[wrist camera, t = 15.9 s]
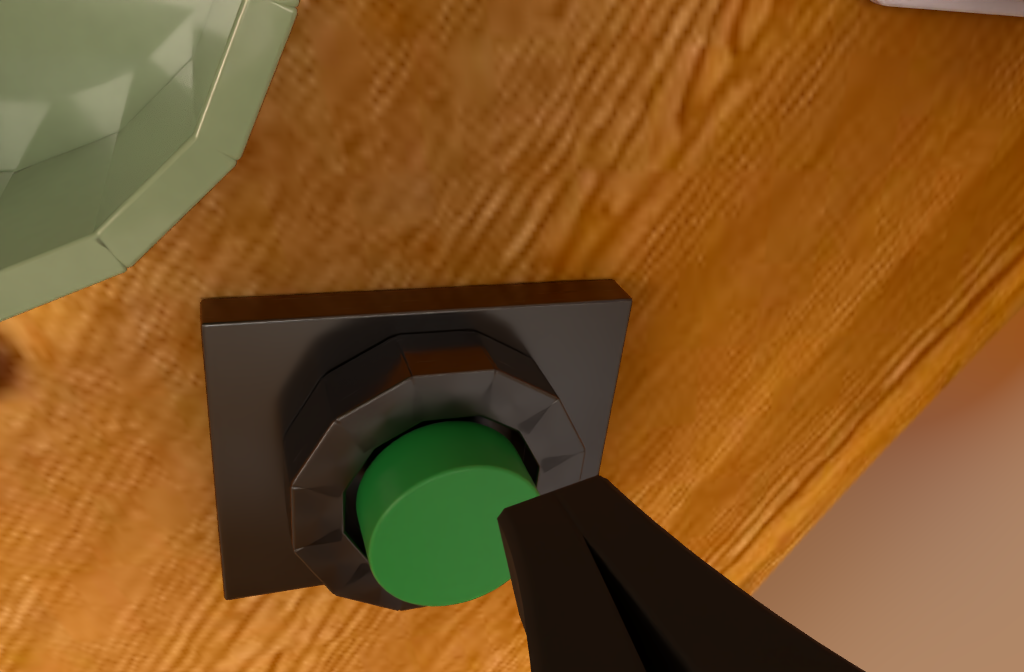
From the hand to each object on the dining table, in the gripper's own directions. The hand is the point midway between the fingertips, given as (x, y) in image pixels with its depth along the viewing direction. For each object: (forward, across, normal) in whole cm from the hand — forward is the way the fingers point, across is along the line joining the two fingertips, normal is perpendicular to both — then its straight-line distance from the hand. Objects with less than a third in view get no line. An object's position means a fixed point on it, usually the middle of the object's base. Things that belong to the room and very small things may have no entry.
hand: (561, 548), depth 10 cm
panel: (+10, +1, +6) cm, 12 cm away
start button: (+8, +1, +5) cm, 9 cm away
